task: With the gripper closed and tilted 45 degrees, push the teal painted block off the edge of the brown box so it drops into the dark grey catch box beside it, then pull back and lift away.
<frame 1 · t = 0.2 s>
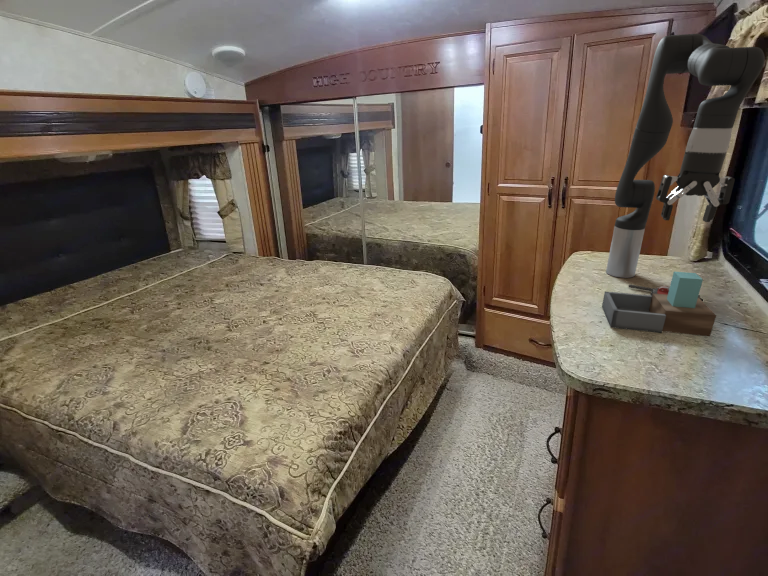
hand: (685, 220, 99), 29 cm above the dresser top, tool pointing down, fingers open, 8 cm apart
catch box: (629, 319, 115), on the dresser top
walkie-talkie: (662, 299, 128), on the dresser top
block: (680, 303, 110), point 6 cm above the dresser top, touching brown box
brown box: (677, 323, 112), on the dresser top
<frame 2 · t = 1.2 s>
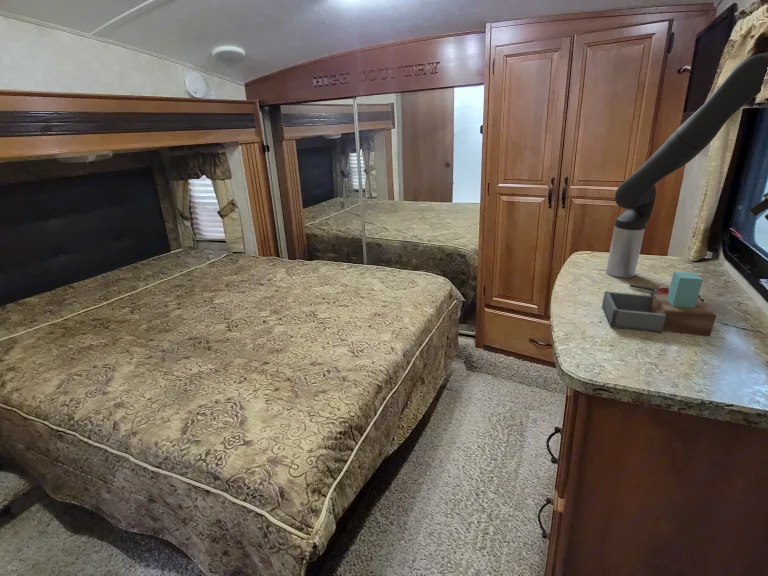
hand: (759, 216, 102), 29 cm above the dresser top, tool tilted 45°, fingers open, 8 cm apart
nothing on the dresser top moved.
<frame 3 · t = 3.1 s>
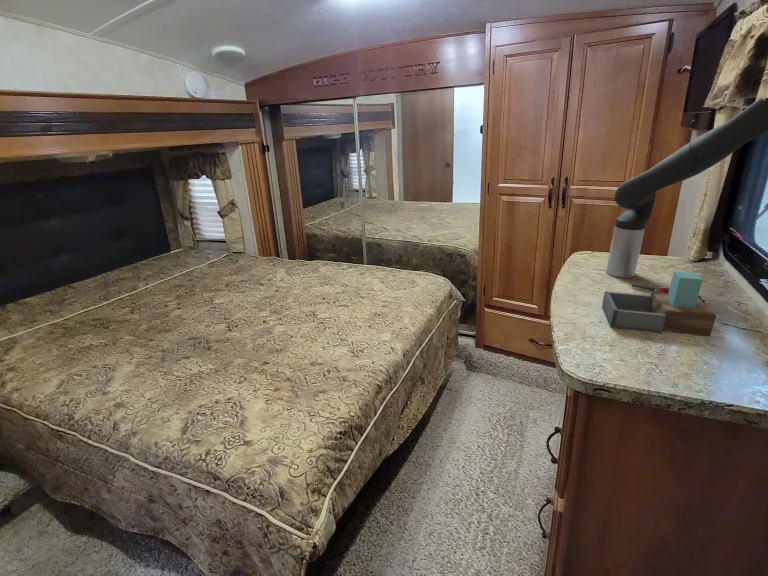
hand: (766, 268, 101), 17 cm above the dresser top, tool tilted 45°, fingers closed
nothing on the dresser top moved.
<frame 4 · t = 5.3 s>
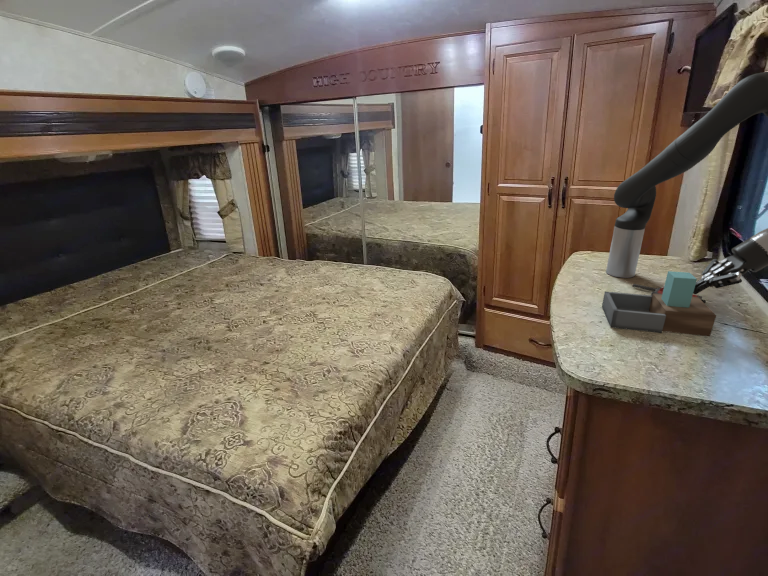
hand: (691, 291, 108), 10 cm above the dresser top, tool tilted 45°, fingers closed
block: (674, 303, 110), point 6 cm above the dresser top, touching gripper
everything else where it was.
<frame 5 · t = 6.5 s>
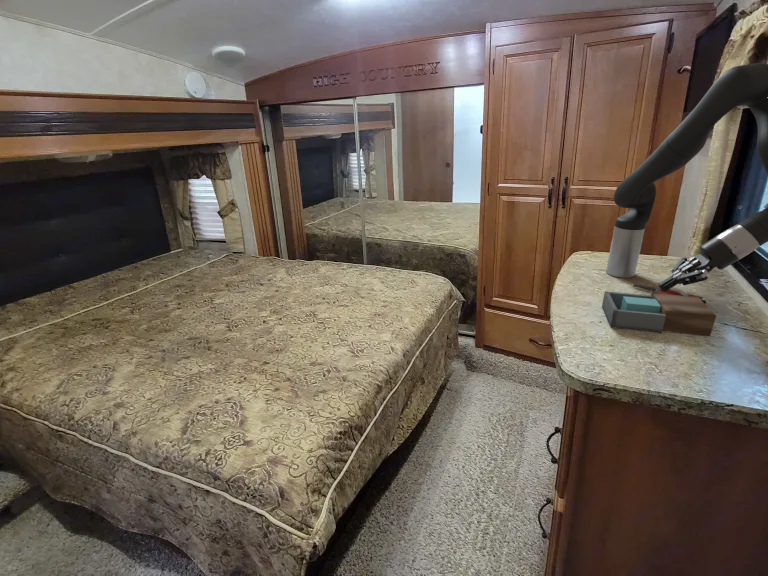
hand: (660, 288, 110), 10 cm above the dresser top, tool tilted 45°, fingers closed
block: (656, 311, 112), point 3 cm above the dresser top, tilted 90°, touching catch box
everything else where it was.
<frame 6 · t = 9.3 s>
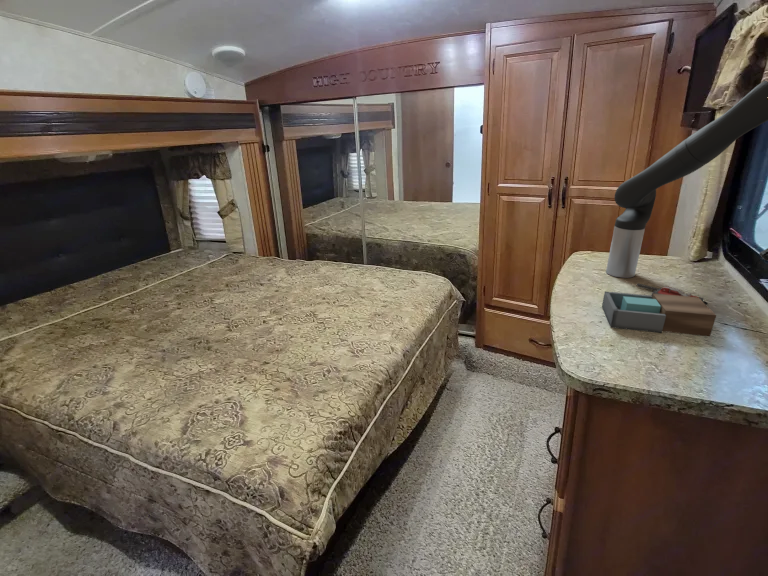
hand: (762, 257, 100), 20 cm above the dresser top, tool tilted 45°, fingers closed
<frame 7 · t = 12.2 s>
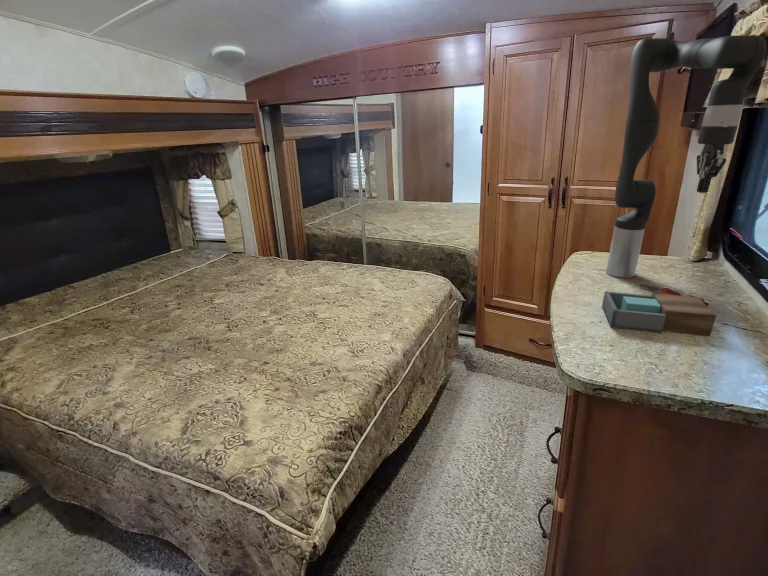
hand: (701, 192, 113), 33 cm above the dresser top, tool pointing down, fingers closed
at the end: block inside the target area (5.6 cm from its centre), point 3.3 cm above the dresser top; the gripper is holding nothing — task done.
